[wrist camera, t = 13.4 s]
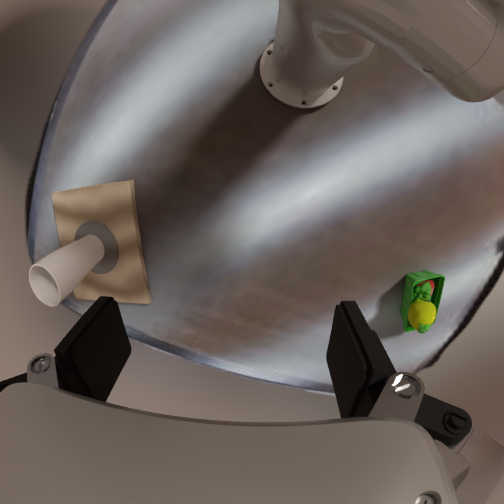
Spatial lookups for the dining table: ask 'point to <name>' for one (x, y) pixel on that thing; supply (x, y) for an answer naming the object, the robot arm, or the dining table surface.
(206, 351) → the dining table surface
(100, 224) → the serving board
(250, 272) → the dining table surface
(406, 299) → the fruit basket
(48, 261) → the drinking glass
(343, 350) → the robot arm
